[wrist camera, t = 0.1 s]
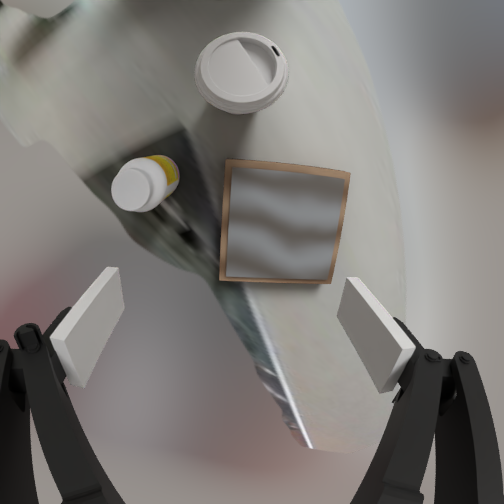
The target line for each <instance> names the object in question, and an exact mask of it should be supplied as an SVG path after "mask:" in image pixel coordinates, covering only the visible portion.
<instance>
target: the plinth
mask: <svg viewBox="0 0 504 504" xmlns="http://www.w3.org/2000/svg"><path fill="white" fill-rule="evenodd" d="M349 181H350V173H348V172H345V171H340V170H334V169H327V168H320V167H312V166H305V165H296V164H287V163H278V162H267V161H255V160H242V159H226V160H225V175H224V190H223V207H222V226H221V248H220V273H219V280H220V281H243V282H270V283H308V284H331V281H332V277H333V272H334V267H335V262H336V258H337V253H338V247H339V242H340V237H341V231H342V226H343V220H344V214H345V208H346V202H347V195H348V188H349Z"/></svg>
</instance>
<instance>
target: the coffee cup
mask: <svg viewBox="0 0 504 504" xmlns="http://www.w3.org/2000/svg"><path fill="white" fill-rule="evenodd" d="M194 77H195V83H196V86H197V88H198V90H199V92H200V94H201V95H202V96H203V98H204V99H205V100H206V101H207V102H209V103H210V104H211V105H213V106H214V107H216V108H218V109H220V110H223V111H226V112H228V113H231V114H236V115H241V114H247V113H253V112H257V111H260V110H263V109H265V108H267V107H269V106H270V105H272V104H273V103H274V102H275V101H277V100H278V98H279V97H280V96H281V95H282V93H283V92H284V90H285V88H286V86H287V82H288V77H289V70H288V64H287V61H286V58H285V56H284V54H283V53H282V51H281V50H280V49H279V47H278V46H277V45H276V44H275V43H273V42H272V41H271V40H269V39H268V38H266V37H264V36H261V35H259V34H255V33H251V32H233V33H228V34H225V35H222V36H220V37H218V38H216V39H214V40H213V41H212V42H210V43H209V44H208V45H207V46H206V47H205V48H204V49H203V50H202V52H201V53H200V55H199V57H198V59H197V61H196V65H195V70H194Z"/></svg>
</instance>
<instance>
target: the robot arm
mask: <svg viewBox="0 0 504 504" xmlns="http://www.w3.org/2000/svg"><path fill="white" fill-rule="evenodd" d="M124 309H125V306H124V301H123V294H122V288H121V281H120V273H119V268H117V267H107V268H106V269H105V270H104V271H103V272H102V273H101V274H100V275H99V277H98V278H97V279H96V280H95V281H94V282H93V284H92V285H91V286H90V287H89V288H88V289H87V291H86V292H85V293H84V294H83V295H82V296H81V298H80V299H79V300H78V301H77V303H76V304H75V305H74V306H73V307H68V308H66V309H64V310H63V311H61V312H60V314H59V315H58V316H57V317H56V319H55V320H54V321H53V322H52V324H51V325H50V326H49V327H48V329H47V330H46V331H45V333H44V334H43V335H42V334H41V331H40V328H39V326H38V325H36V324H34V323H28V324H24V325H22V326H20V327H19V328H18V329H17V330H16V331H15V333H14V338H15V340H16V342H17V344H18V347H19V349H11V348H10V346H9V344H8V342H7V341H5V340H0V504H39V502H38V497H37V492H36V486H35V480H34V473H33V464H32V454H31V440H30V408H31V413H32V416H33V420H34V424H35V428H36V431H37V434H38V438H39V441H40V444H41V447H42V450H43V453H44V456H45V458H46V461H47V464H48V466H49V469H50V471H51V474H52V476H53V478H54V481H55V483H56V485H57V487H58V490H59V492H60V494H61V496H62V499H63V501H62V503H61V504H125V502H124V501H123V499H122V498H121V497H120V495H119V494H118V492H117V491H116V489H115V488H114V486H113V484H112V483H111V481H110V480H109V478H108V476H107V475H106V473H105V471H104V469H103V468H102V466H101V464H100V463H99V461H98V459H97V457H96V455H95V453H94V451H93V450H92V447H91V446H90V444H89V442H88V439H87V437H86V436H85V433H84V431H83V429H82V427H81V425H80V422H79V420H78V418H77V415H76V413H75V411H74V408H73V406H72V403H71V400H70V398H69V395H68V392H67V390H66V387H65V385H64V383H63V381H64V379H65V377H66V376H67V379H68V381H69V382H70V384H71V385H74V386H78V387H81V388H85V386H86V384H87V382H88V379H89V377H90V375H91V373H92V371H93V369H94V367H95V365H96V363H97V361H98V358H99V357H100V355H101V353H102V351H103V349H104V347H105V345H106V343H107V341H108V339H109V337H110V335H111V333H112V331H113V330H114V328H115V326H116V324H117V322H118V320H119V318H120V317H121V315H122V313H123V311H124ZM337 317H338V319H339V321H340V323H341V324H342V326H343V328H344V330H345V331H346V333H347V335H348V337H349V338H350V340H351V342H352V344H353V346H354V347H355V349H356V351H357V353H358V355H359V356H360V358H361V360H362V362H363V364H364V366H365V367H366V369H367V371H368V373H369V375H370V377H371V378H372V380H373V382H374V384H375V386H376V388H377V390H378V392H379V394H380V393H385V392H389V391H393V389H394V387H395V386H396V384H397V382H398V383H399V385H400V386H401V388H400V390H399V391H398V393H397V395H396V396H395V398H394V399H393V401H392V403H394V402H395V403H394V406H393V409H392V412H391V415H390V418H389V421H388V423H387V426H386V429H385V431H384V434H383V436H382V439H381V441H380V444H379V446H378V449H377V451H376V453H375V456H374V458H373V460H372V462H371V464H370V466H369V469H368V471H367V473H366V475H365V477H364V479H363V481H362V483H361V485H360V487H359V488H358V491H357V492H356V494H355V496H354V498H353V499H352V501H351V503H350V504H423V500H424V495H423V494H422V493H420V491H419V490H420V486H421V483H422V480H423V477H424V473H425V470H426V467H427V463H428V459H429V455H430V451H431V447H432V442H433V438H434V433H435V447H436V448H435V449H436V479H435V480H436V481H435V498H434V504H504V495H503V481H502V470H501V462H500V455H499V449H498V443H497V437H496V432H495V428H494V423H493V419H492V415H491V411H490V407H489V403H488V400H487V396H486V393H485V390H484V386H483V383H482V380H481V377H480V374H479V371H478V368H477V365H476V363H475V360H474V359H473V357H472V356H471V355H470V354H469V353H466V352H463V351H458V352H456V353H455V355H454V357H453V359H443V358H442V356H441V355H440V354H439V353H438V352H436V351H434V350H431V349H424V348H423V347H422V346H421V344H420V343H419V342H418V340H417V339H416V338H415V337H414V335H412V334H411V332H410V331H409V330H408V329H407V327H406V326H405V325H404V323H403V322H401V321H400V320H398V319H397V318H395V317H393V318H392V317H391V315H390V314H389V313H388V312H387V311H386V309H385V308H384V307H383V306H382V305H381V303H380V302H379V301H378V300H377V299H376V298H375V296H374V295H373V294H372V293H371V292H370V291H369V289H368V288H367V287H366V286H365V285H364V284H363V283H362V281H361V280H360V279H359V278H358V277H347V278H346V282H345V286H344V290H343V294H342V298H341V302H340V306H339V310H338V313H337ZM456 393H457V394H456Z"/></svg>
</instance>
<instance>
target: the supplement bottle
mask: <svg viewBox="0 0 504 504" xmlns="http://www.w3.org/2000/svg"><path fill="white" fill-rule="evenodd" d="M178 183H179V170H178V167H177V165H176V164H175V162H174V161H173V160H172V159H170V158H169V157H166V156H163V155H154V156H148V157H142V158H137V159H133V160H131V161H129V162H127V163H126V164H125V165H124V166H123V167H122V168H121V169H120V171H119V173H118V174H117V176H116V177H115V178H114V180H113V183H112V187H111V192H112V197H113V199H114V201H115V203H116V204H117V205H118V206H119V207H120V208H122V209H124V210H127V211H135V212H146V211H149V210H151V209H153V208H155V207H156V206H157V205H159V204H160V203H161V202H162V201H163V200H164V199H166V198H167V197H168V196H169V195H170V194H172V193H173V192H174V190H175V189H176V187H177V185H178Z"/></svg>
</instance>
